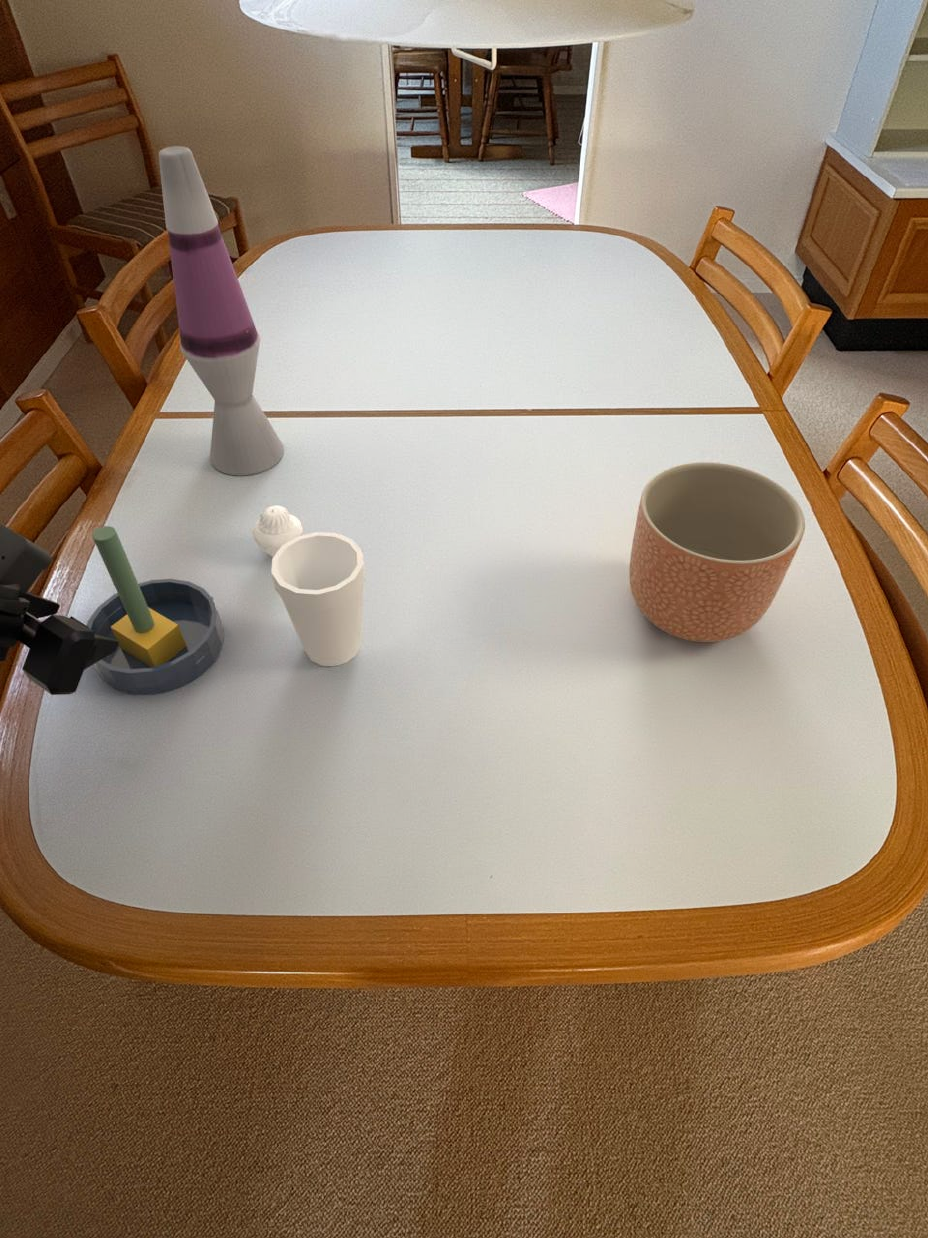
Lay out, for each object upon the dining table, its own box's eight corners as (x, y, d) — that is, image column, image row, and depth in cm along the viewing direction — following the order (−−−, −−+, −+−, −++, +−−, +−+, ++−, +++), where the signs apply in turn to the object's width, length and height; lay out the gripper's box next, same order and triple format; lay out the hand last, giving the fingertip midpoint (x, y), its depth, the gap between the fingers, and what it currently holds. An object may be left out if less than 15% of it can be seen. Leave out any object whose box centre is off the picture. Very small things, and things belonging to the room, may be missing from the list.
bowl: (104, 712, 84) (91, 690, 81) (89, 623, 92) (77, 600, 90) (236, 669, 88) (229, 647, 85) (210, 588, 96) (202, 565, 94)
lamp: (205, 441, 118) (120, 140, 89) (277, 427, 120) (217, 130, 91) (215, 482, 111) (126, 171, 82) (290, 467, 113) (230, 159, 84)
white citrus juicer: (312, 538, 103) (304, 495, 98) (298, 570, 99) (289, 527, 93) (266, 533, 103) (256, 491, 98) (251, 565, 99) (239, 522, 94)
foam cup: (352, 686, 86) (339, 603, 76) (277, 665, 88) (254, 582, 78) (385, 625, 92) (377, 542, 83) (314, 607, 94) (297, 524, 85)
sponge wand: (156, 671, 87) (105, 557, 74) (120, 648, 89) (65, 533, 77) (186, 646, 89) (142, 531, 77) (150, 624, 92) (102, 510, 79)
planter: (794, 618, 93) (839, 518, 82) (698, 686, 86) (733, 587, 75) (685, 542, 102) (712, 443, 91) (590, 598, 95) (607, 498, 84)
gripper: (33, 571, 61) (178, 590, 75) (-102, 488, 68) (55, 520, 82) (-15, 700, 62) (137, 694, 76) (-142, 605, 69) (19, 617, 84)
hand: (86, 626), depth 80 cm, fingers open, 9 cm apart
